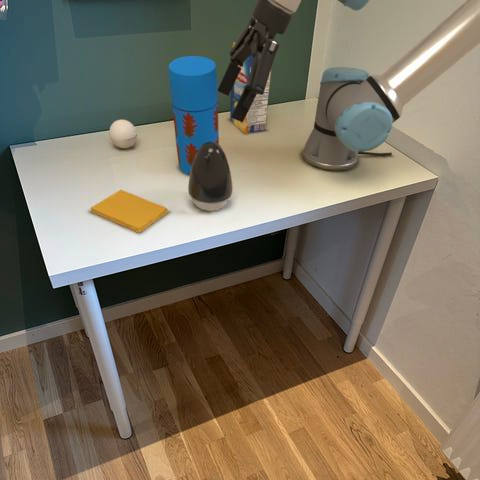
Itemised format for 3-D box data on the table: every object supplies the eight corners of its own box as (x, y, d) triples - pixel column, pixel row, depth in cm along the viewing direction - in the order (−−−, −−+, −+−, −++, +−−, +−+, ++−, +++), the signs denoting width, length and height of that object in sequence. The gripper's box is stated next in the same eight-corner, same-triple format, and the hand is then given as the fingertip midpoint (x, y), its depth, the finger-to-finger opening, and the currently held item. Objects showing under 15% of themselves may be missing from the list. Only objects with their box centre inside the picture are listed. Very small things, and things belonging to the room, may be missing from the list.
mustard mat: (167, 212, 108) (167, 208, 107) (139, 233, 102) (138, 228, 101) (121, 193, 113) (120, 189, 112) (91, 212, 106) (90, 207, 106)
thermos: (212, 180, 119) (208, 78, 100) (173, 174, 121) (161, 73, 102) (224, 157, 126) (222, 58, 107) (186, 152, 128) (177, 53, 109)
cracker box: (245, 133, 140) (250, 52, 125) (229, 119, 147) (232, 40, 132) (265, 130, 143) (273, 50, 127) (249, 116, 149) (254, 39, 134)
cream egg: (118, 155, 126) (114, 128, 121) (106, 144, 131) (102, 118, 125) (151, 147, 131) (149, 121, 126) (139, 137, 135) (136, 111, 130)
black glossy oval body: (183, 213, 108) (181, 150, 97) (194, 191, 115) (193, 130, 105) (226, 220, 107) (229, 156, 96) (235, 197, 114) (238, 136, 104)
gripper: (245, -22, 98) (204, 76, 111) (280, 15, 82) (227, 125, 95) (274, -4, 102) (231, 89, 115) (313, 34, 86) (258, 138, 99)
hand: (229, 105), depth 105 cm, fingers open, 13 cm apart
